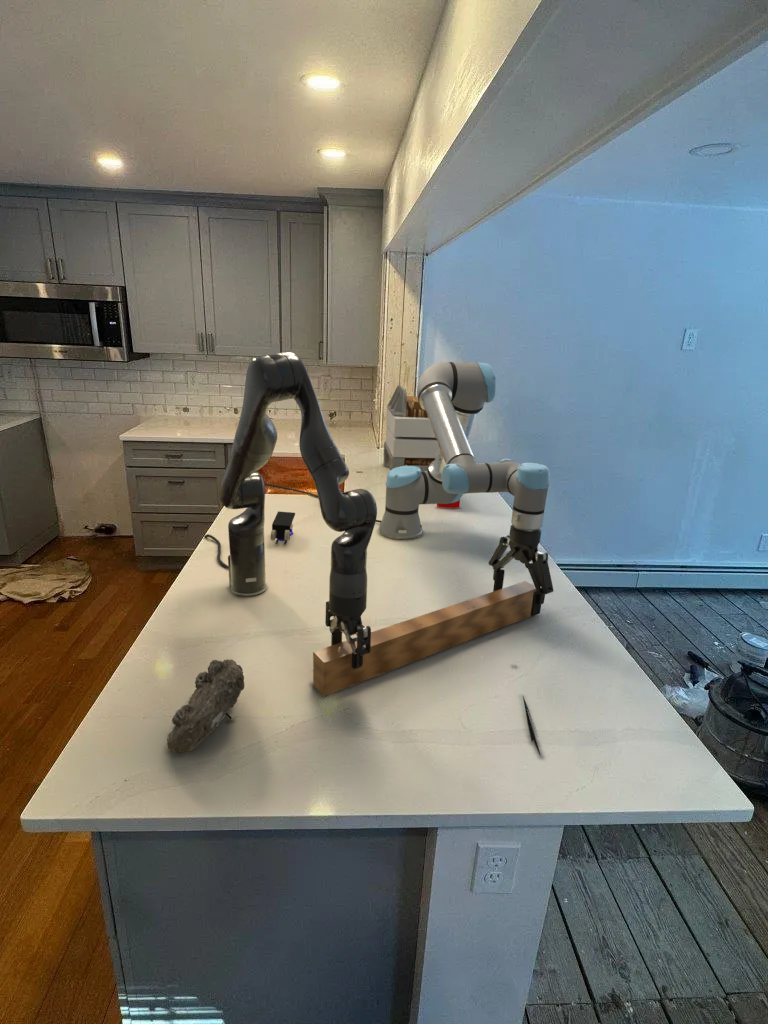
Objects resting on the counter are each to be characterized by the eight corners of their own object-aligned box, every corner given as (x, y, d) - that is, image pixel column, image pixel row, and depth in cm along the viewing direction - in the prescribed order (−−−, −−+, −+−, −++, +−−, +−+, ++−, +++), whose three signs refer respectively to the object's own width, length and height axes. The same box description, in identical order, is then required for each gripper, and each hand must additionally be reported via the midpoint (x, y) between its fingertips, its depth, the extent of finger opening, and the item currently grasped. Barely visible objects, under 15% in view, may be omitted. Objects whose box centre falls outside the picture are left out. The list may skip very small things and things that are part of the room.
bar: (521, 607, 154) (525, 580, 151) (534, 614, 150) (538, 587, 147) (313, 684, 119) (313, 651, 116) (323, 696, 115) (324, 662, 112)
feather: (514, 670, 128) (520, 664, 128) (540, 759, 101) (547, 752, 101) (508, 666, 128) (514, 660, 127) (532, 755, 101) (539, 747, 101)
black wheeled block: (290, 551, 185) (296, 529, 198) (289, 530, 182) (295, 510, 195) (270, 550, 185) (277, 528, 198) (268, 530, 181) (276, 509, 195)
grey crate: (382, 463, 289) (386, 382, 275) (445, 464, 293) (451, 384, 279) (390, 482, 257) (394, 392, 243) (460, 483, 261) (468, 394, 247)
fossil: (192, 660, 117) (244, 628, 112) (224, 691, 120) (276, 661, 115) (142, 746, 98) (202, 712, 93) (182, 779, 101) (242, 748, 96)
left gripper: (314, 577, 116) (314, 646, 122) (350, 607, 105) (348, 681, 111) (345, 569, 120) (344, 636, 126) (384, 598, 109) (380, 669, 115)
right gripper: (480, 513, 147) (472, 587, 154) (556, 546, 128) (543, 628, 135) (500, 509, 151) (492, 581, 158) (577, 540, 132) (563, 620, 140)
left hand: (346, 657), depth 118 cm, fingers open, 8 cm apart
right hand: (515, 603), depth 147 cm, fingers open, 12 cm apart
